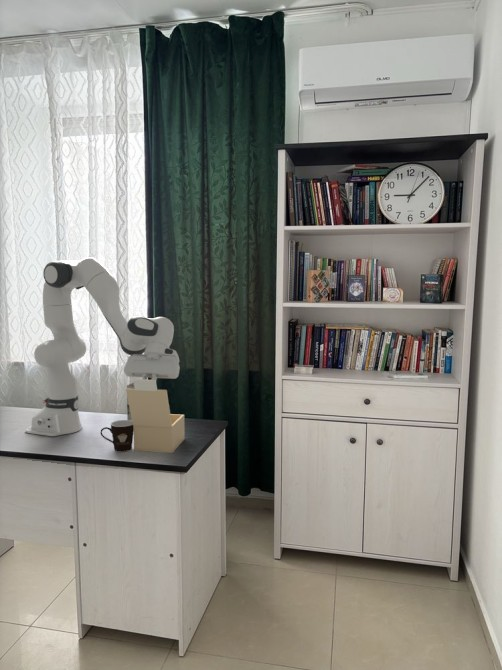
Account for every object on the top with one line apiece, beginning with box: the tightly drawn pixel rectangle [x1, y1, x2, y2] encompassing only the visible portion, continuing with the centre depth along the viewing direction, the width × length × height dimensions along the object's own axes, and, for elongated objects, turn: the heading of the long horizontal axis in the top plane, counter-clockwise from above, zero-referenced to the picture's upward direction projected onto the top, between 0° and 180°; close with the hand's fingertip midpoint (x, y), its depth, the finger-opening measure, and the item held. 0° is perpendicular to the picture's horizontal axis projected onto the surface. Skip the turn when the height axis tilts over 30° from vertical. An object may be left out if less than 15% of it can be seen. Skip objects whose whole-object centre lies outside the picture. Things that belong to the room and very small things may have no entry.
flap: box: [125, 378, 172, 427], centre depth 183 cm, size 15×20×1 cm
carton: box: [133, 413, 186, 453], centre depth 196 cm, size 15×16×10 cm
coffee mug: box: [100, 419, 134, 453], centre depth 192 cm, size 12×9×10 cm
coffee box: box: [126, 382, 135, 421], centre depth 232 cm, size 9×6×16 cm
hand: (147, 386), depth 181 cm, fingers closed
